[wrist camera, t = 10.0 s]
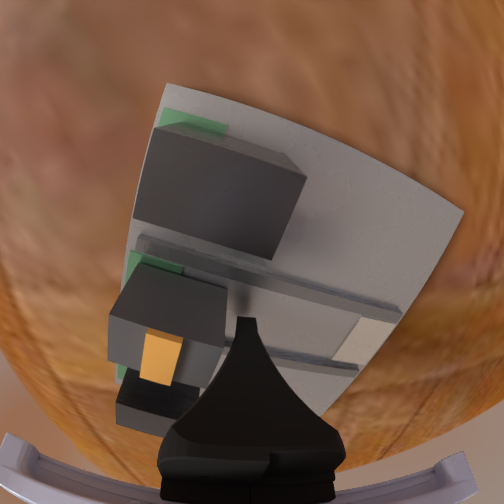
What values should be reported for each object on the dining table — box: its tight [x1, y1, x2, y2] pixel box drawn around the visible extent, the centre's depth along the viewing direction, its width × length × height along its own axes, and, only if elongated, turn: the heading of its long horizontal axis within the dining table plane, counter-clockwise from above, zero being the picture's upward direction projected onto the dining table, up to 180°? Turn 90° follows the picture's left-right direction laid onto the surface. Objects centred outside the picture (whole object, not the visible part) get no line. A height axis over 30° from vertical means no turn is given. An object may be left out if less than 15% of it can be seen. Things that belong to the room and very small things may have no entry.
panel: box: [115, 83, 464, 438], centre depth 13 cm, size 14×17×5 cm
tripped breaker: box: [108, 263, 228, 389], centre depth 11 cm, size 4×2×4 cm, turn 70°
